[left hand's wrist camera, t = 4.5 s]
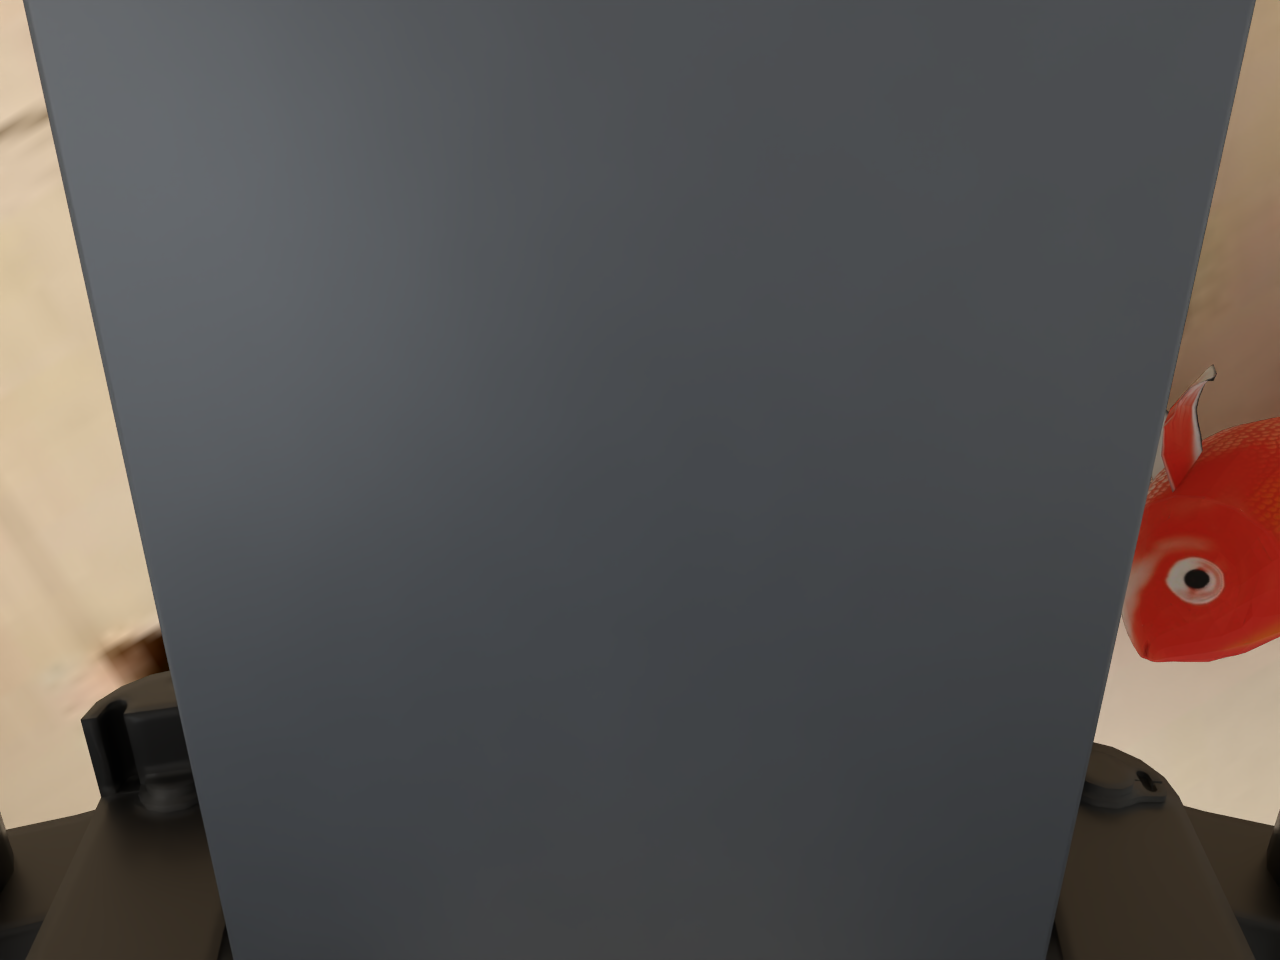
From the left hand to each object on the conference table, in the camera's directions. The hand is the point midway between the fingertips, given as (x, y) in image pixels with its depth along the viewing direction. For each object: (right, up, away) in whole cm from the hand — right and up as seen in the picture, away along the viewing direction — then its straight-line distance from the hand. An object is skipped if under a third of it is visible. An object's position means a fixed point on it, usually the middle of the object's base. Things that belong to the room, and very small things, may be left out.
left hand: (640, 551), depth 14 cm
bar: (0, +7, -2) cm, 8 cm away
